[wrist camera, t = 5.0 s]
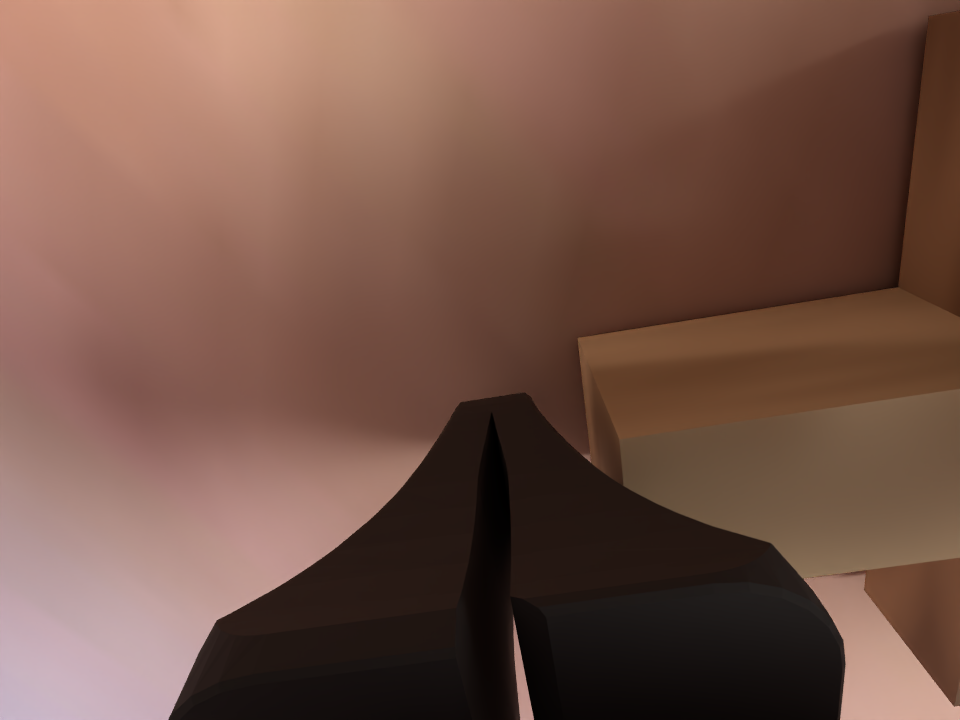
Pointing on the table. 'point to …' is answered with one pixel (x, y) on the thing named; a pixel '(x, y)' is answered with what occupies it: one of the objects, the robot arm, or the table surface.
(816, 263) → the table surface
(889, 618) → the wooden post with crossbar
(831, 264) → the table surface
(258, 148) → the table surface
